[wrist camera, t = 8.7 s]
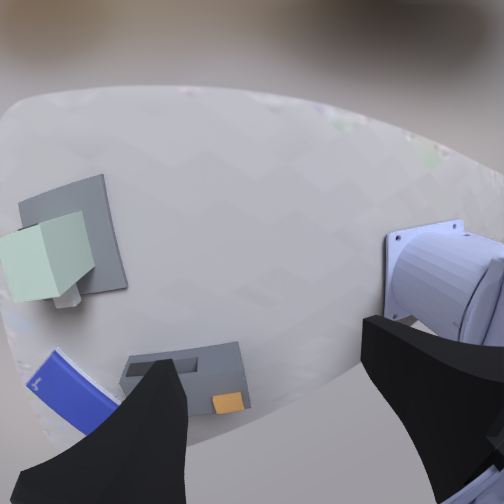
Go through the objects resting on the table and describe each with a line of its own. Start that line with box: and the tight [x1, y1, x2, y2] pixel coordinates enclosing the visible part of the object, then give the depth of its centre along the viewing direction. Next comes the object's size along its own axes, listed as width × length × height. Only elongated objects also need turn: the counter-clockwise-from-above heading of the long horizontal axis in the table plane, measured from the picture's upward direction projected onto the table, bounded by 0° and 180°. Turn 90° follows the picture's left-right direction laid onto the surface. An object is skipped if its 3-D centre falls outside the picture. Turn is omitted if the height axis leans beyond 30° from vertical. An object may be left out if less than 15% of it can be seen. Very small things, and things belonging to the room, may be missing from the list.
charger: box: [0, 211, 95, 309], centre depth 15 cm, size 4×6×6 cm
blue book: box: [26, 347, 121, 436], centre depth 21 cm, size 2×8×12 cm
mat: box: [18, 174, 128, 300], centre depth 17 cm, size 8×8×1 cm
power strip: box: [119, 342, 251, 416], centre depth 19 cm, size 9×4×4 cm, turn 99°
